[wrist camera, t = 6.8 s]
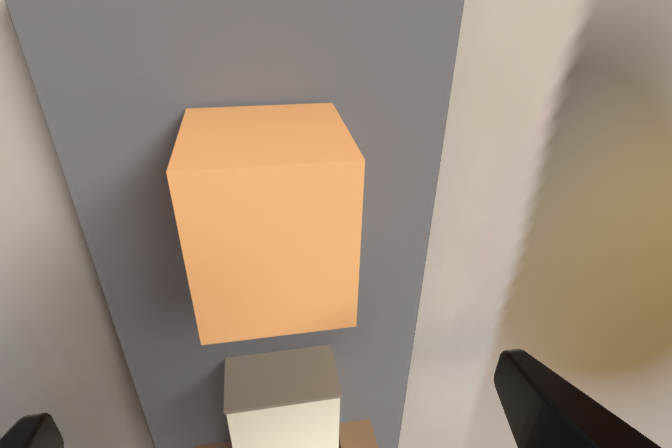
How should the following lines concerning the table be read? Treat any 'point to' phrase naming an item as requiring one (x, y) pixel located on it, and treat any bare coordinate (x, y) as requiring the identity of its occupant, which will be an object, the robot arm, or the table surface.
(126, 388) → the table surface
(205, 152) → the peach cube cap
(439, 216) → the table surface
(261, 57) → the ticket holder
